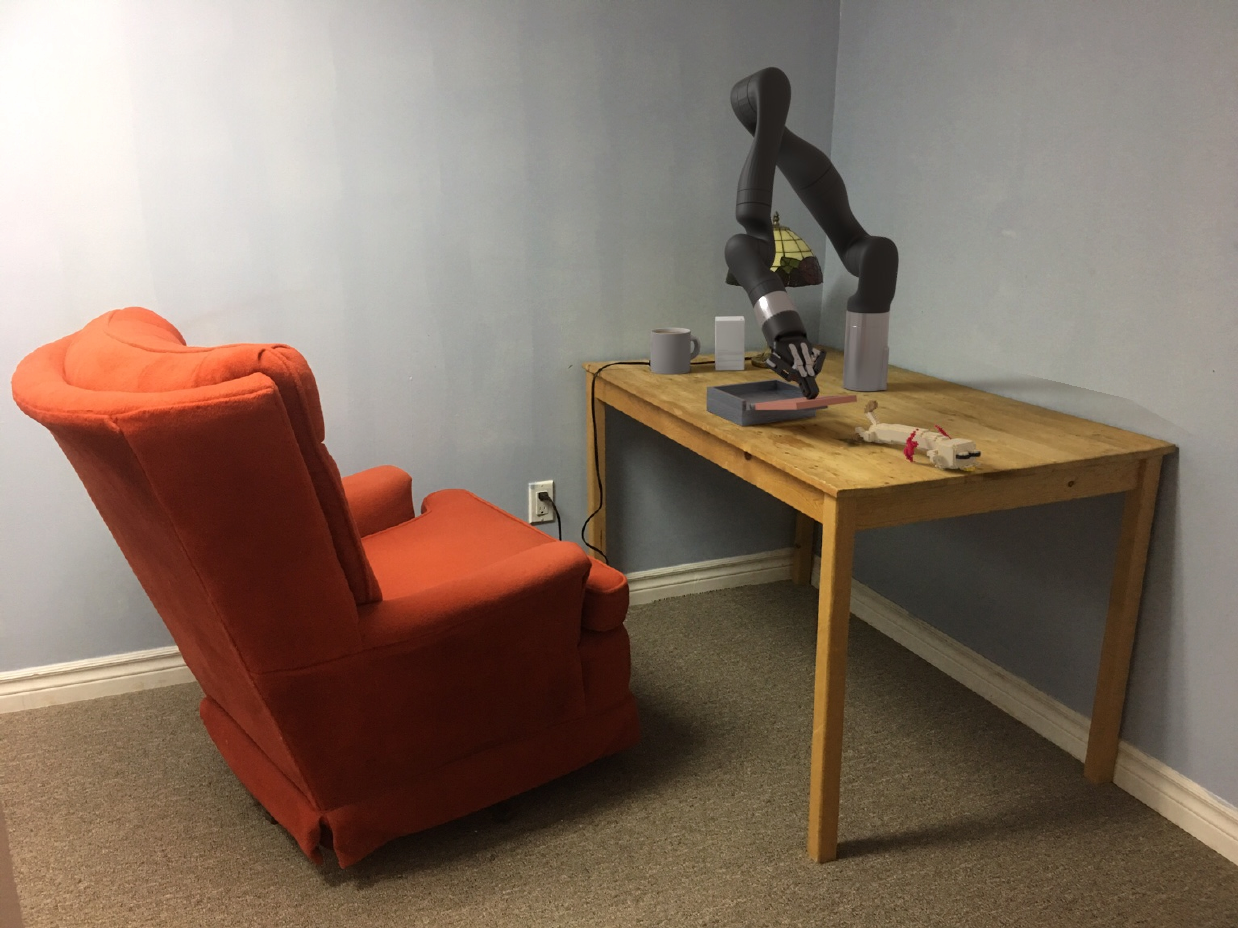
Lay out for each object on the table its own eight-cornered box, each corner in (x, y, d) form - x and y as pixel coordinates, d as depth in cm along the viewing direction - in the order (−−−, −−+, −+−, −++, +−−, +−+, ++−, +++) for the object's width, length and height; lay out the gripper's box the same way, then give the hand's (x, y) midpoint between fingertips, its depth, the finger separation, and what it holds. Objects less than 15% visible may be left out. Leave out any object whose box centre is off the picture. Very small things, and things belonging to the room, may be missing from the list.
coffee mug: (658, 375, 223) (657, 334, 220) (645, 368, 232) (645, 329, 230) (709, 371, 227) (709, 331, 224) (694, 364, 236) (695, 325, 233)
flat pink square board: (749, 403, 175) (793, 403, 162) (810, 396, 181) (858, 394, 167) (750, 413, 176) (794, 413, 162) (811, 405, 181) (859, 405, 167)
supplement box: (743, 365, 234) (744, 315, 231) (744, 371, 227) (745, 320, 224) (714, 365, 235) (715, 315, 231) (714, 371, 228) (715, 320, 224)
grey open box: (706, 410, 189) (706, 386, 187) (776, 402, 195) (777, 378, 193) (741, 426, 176) (742, 400, 175) (815, 416, 183) (816, 391, 181)
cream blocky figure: (843, 451, 164) (953, 476, 143) (843, 402, 162) (954, 421, 141) (885, 442, 169) (997, 466, 147) (885, 396, 167) (999, 412, 145)
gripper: (757, 311, 169) (791, 389, 162) (817, 306, 174) (853, 382, 167) (741, 335, 175) (774, 411, 168) (800, 330, 180) (834, 404, 173)
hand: (813, 397), depth 167 cm, fingers closed
